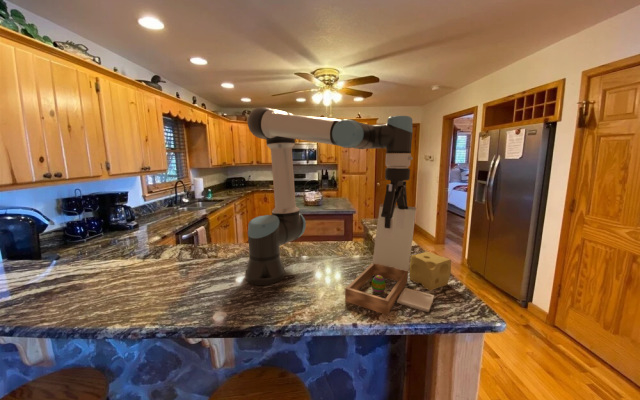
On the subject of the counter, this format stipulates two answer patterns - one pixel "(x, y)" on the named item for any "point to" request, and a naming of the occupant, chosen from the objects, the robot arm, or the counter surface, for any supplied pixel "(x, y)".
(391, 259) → the lid
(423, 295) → the dish
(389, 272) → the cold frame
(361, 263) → the counter surface
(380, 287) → the egg
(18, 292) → the counter surface
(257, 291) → the counter surface
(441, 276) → the cheese
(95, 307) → the counter surface
